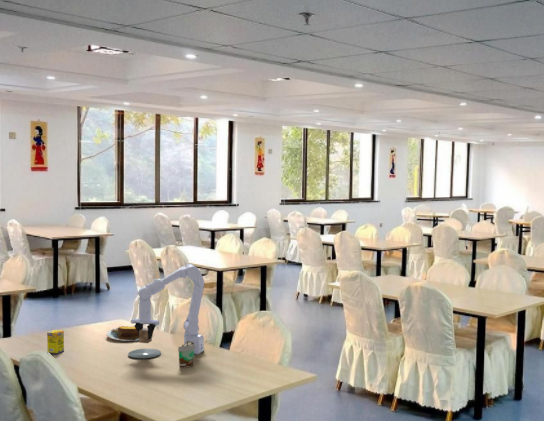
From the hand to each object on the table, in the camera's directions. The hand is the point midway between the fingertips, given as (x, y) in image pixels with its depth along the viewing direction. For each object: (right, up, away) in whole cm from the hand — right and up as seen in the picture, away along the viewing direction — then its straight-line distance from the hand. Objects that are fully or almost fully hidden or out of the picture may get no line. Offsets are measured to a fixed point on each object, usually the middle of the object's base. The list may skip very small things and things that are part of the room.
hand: (145, 338), depth 332 cm
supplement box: (-46, -9, +6) cm, 48 cm away
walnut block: (0, -2, 0) cm, 2 cm away
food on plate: (-16, -7, +38) cm, 41 cm away
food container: (+23, -10, -15) cm, 29 cm away
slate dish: (-1, -9, +2) cm, 9 cm away
